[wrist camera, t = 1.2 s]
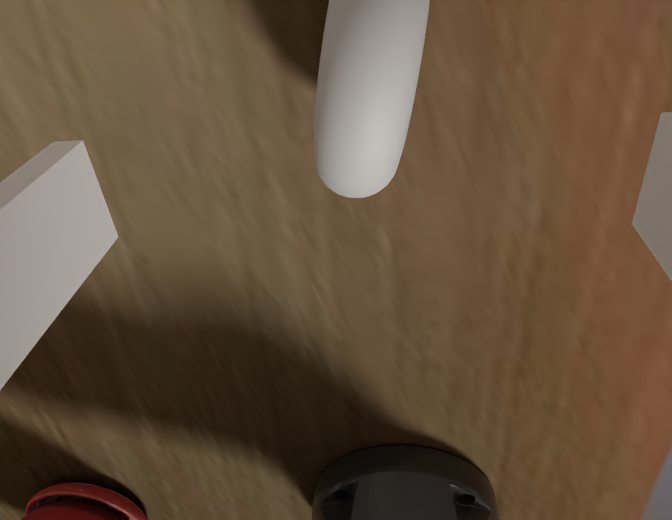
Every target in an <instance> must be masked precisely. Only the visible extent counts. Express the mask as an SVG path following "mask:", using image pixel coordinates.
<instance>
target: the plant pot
mask: <svg viewBox="0 0 672 520" xmlns="http://www.w3.org/2000/svg"><path fill="white" fill-rule="evenodd" d="M25 514H26V516H25V517H24V518H22V519H21V520H148V519H147V517H146V516H145V514H144V513H143V512H142V510H141V509H140V508H139V507H138V506H137V505H136V504H134V503H133V502H132V501H131V500H129V499H128V498H126V497H125V496H123V495H121V494H119V493H117V492H115V491H112V490H110V489H107V488H104V487H101V486H97V485H93V484H87V483H61V484H56V485H52V486H50V487H47V488H45V489H43V490H41V491H39V492H38V493H36V494H35V495H34V496H33V497H32V498H31V499H30V500H29V502H28V504H27V506H26V510H25Z"/></svg>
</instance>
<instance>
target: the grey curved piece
mask: <svg viewBox="0 0 672 520" xmlns="http://www.w3.org/2000/svg"><path fill="white" fill-rule="evenodd" d="M428 10H429V0H329V4H328V10H327V16H326V22H325V27H324V34H323V41H322V49H321V56H320V64H319V73H318V81H317V90H316V102H315V115H314V146H313V152H314V163H315V166H316V169H317V172H318V175H319V177H320V178H321V179H322V181H323V182H324V183H325V185H326V186H327V187H329V188H330V189H331V190H333V191H334V192H335V193H337V194H340V195H343V196H346V197H349V198H364V197H367V196H370V195H373V194H376V193H377V192H379V191H380V190H382V189H383V188H384V187H386V186H387V185H388V183H389V182H390V181H391V179H392V178H393V176H394V175H395V172H396V169H397V167H398V164H399V161H400V157H401V154H402V151H403V147H404V143H405V139H406V135H407V131H408V126H409V122H410V117H411V113H412V108H413V103H414V98H415V92H416V87H417V82H418V77H419V71H420V65H421V59H422V53H423V47H424V40H425V33H426V26H427V18H428Z"/></svg>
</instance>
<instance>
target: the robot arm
mask: <svg viewBox="0 0 672 520" xmlns="http://www.w3.org/2000/svg"><path fill="white" fill-rule="evenodd" d="M632 225H633V226H634V228H635V229H636V231H637V232H638V234H639V235H640V236H641V238H642V239H643V241H644V242H645V244H646V245H647V246H648V248H649V249H650V251H651V252H652V254H653V255H654V256H655V258H656V259H657V261H658V262H659V264H660V265H661V266H662V268H663V269H664V271H665V272H666V274H667V275H668V276H669V278H670V279H671V281H672V112H669V113H661V116H660V120H659V124H658V127H657V131H656V135H655V139H654V142H653V146H652V150H651V154H650V157H649V161H648V165H647V169H646V172H645V176H644V180H643V184H642V188H641V191H640V195H639V199H638V203H637V206H636V210H635V214H634V218H633V221H632ZM117 238H118V235H117V232H116V229H115V227H114V224H113V221H112V218H111V216H110V213H109V210H108V208H107V205H106V202H105V199H104V197H103V194H102V191H101V189H100V186H99V183H98V180H97V178H96V175H95V172H94V170H93V167H92V164H91V161H90V159H89V156H88V153H87V151H86V148H85V145H84V142H83V140H82V141H61V142H52V143H51V144H50V145H49V146H47V147H46V148H45V149H43V150H42V151H41V152H39V153H38V154H37V155H35V156H34V157H33V158H32V159H30V160H29V161H28V162H26V163H25V164H24V165H22V166H21V167H20V168H19V169H17V170H16V171H15V172H13V173H12V174H11V175H9V176H8V177H7V178H6V179H4V180H3V181H2V182H0V390H1V389H2V387H3V386H4V385H5V383H6V382H7V381H8V379H9V378H10V377H11V376H12V374H13V373H14V372H15V370H16V369H17V368H18V366H19V365H20V364H21V363H22V361H23V360H24V359H25V357H26V356H27V355H28V354H29V352H30V351H31V350H32V348H33V347H34V346H35V344H36V343H37V342H38V341H39V339H40V338H41V337H42V335H43V334H44V333H45V331H46V330H47V329H48V328H49V326H50V325H51V324H52V322H53V321H54V320H55V318H56V317H57V316H58V315H59V313H60V312H61V311H62V309H63V308H64V307H65V305H66V304H67V303H68V302H69V300H70V299H71V298H72V296H73V295H74V294H75V293H76V291H77V290H78V289H79V287H80V286H81V285H82V283H83V282H84V281H85V280H86V278H87V277H88V276H89V274H90V273H91V272H92V270H93V269H94V268H95V267H96V265H97V264H98V263H99V261H100V260H101V259H102V257H103V256H104V255H105V254H106V252H107V251H108V250H109V248H110V247H111V246H112V244H113V243H114V242H115V241H116V239H117ZM312 520H499V517H498V511H497V505H496V499H495V494H494V490H493V488H492V486H491V484H490V482H489V481H488V479H487V478H486V477H485V476H484V475H483V473H481V472H480V471H479V470H478V469H477V468H475V467H474V466H473V465H471V464H470V463H468V462H466V461H465V460H463V459H461V458H458V457H456V456H454V455H451V454H448V453H446V452H442V451H439V450H435V449H430V448H425V447H418V446H404V445H394V446H381V447H374V448H369V449H365V450H361V451H358V452H355V453H352V454H349V455H347V456H345V457H343V458H341V459H339V460H337V461H336V462H334V463H333V464H331V465H330V466H329V467H328V468H327V469H326V470H325V471H324V472H323V473H322V474H321V476H320V477H319V479H318V481H317V483H316V487H315V493H314V501H313V509H312Z"/></svg>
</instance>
